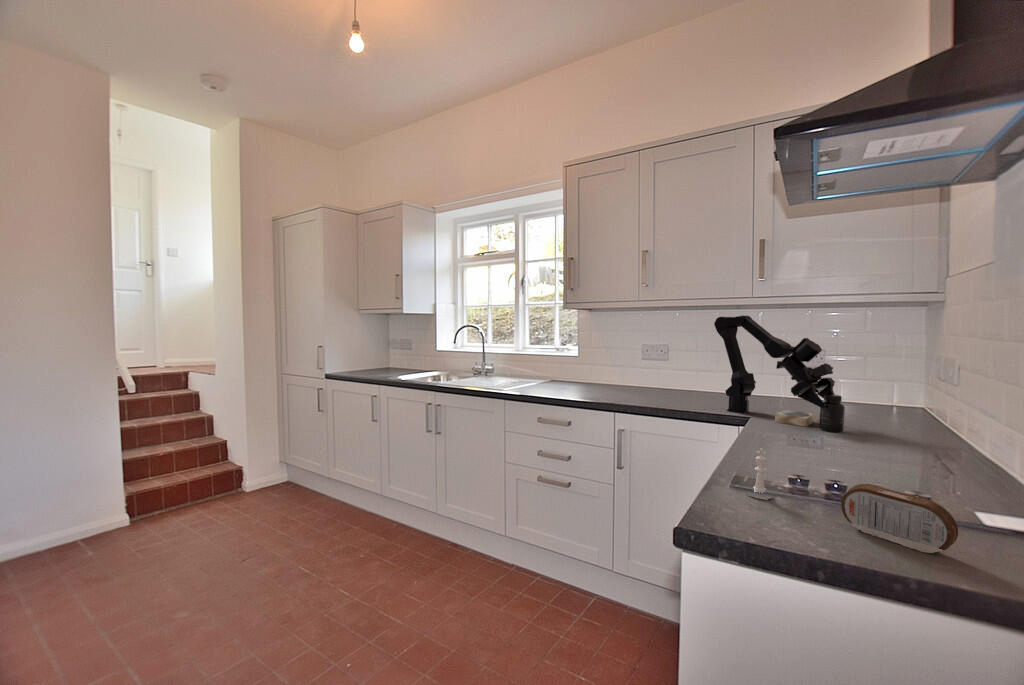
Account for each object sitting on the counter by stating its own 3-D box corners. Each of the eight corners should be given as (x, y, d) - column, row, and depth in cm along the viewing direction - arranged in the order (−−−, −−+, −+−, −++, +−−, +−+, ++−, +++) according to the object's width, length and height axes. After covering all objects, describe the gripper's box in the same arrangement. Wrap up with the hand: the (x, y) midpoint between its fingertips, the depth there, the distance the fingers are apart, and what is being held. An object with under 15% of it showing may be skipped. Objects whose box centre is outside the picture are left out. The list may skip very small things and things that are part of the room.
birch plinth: (774, 421, 166) (775, 413, 166) (782, 417, 173) (782, 409, 173) (806, 426, 159) (807, 417, 159) (813, 422, 166) (813, 413, 166)
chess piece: (746, 489, 99) (748, 444, 98) (772, 494, 96) (774, 447, 96) (745, 497, 94) (747, 450, 94) (773, 502, 92) (775, 453, 92)
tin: (956, 558, 71) (960, 505, 71) (951, 564, 69) (955, 510, 69) (844, 522, 83) (846, 477, 83) (837, 526, 82) (839, 480, 81)
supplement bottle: (847, 433, 150) (849, 397, 149) (824, 432, 151) (826, 396, 150) (837, 428, 156) (839, 393, 156) (815, 427, 158) (816, 393, 157)
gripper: (801, 356, 153) (837, 394, 144) (829, 354, 162) (864, 389, 153) (777, 377, 160) (809, 414, 151) (805, 374, 169) (837, 409, 160)
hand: (831, 406), depth 154 cm, fingers open, 9 cm apart
